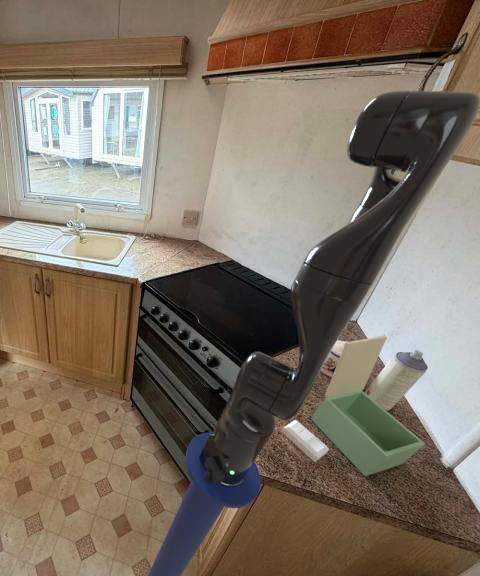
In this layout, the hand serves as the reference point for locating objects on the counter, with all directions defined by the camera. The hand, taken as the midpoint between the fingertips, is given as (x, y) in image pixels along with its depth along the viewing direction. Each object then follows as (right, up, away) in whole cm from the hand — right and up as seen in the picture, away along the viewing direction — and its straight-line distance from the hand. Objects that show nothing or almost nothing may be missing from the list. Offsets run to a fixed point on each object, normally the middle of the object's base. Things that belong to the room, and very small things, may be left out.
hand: (331, 290), depth 79 cm
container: (+7, -39, +1) cm, 40 cm away
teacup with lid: (+17, -27, +21) cm, 38 cm away
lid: (+5, -20, -1) cm, 21 cm away
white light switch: (-8, -39, 0) cm, 40 cm away
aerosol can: (+23, -33, +12) cm, 42 cm away
